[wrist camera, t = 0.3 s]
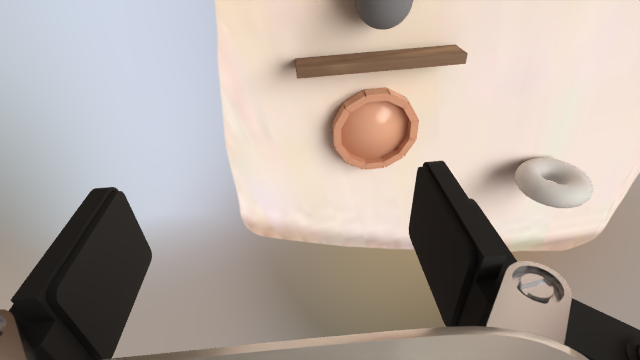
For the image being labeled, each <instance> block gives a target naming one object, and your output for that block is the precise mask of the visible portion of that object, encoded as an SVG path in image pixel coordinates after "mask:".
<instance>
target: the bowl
mask: <svg viewBox="0 0 640 360" xmlns="http://www.w3.org/2000/svg"><path fill="white" fill-rule="evenodd" d="M418 123H419V120H418V118H417V116H416V114H415V112H414V110H413V108H412V107H411V105H410V103H409V101H408V100H407V98H405V96H402V95H400V94H398V93H396V92H394V91H392V90H390V89H388V88H387V89H386V88H378V89H367V90H364V91H363V90H362V91H360V92H359V93H357V94H356V95H354V96H353V97H351V98H349V99H348V100H346V101H345V102H344V104H343V103H342V105H341V107H340V109H339V111H338V112H337V114H336V116H335V118H334V119H333V122H332V128H333V143H334V147H335V149H336V150H337V152H338V153H339V154H340V156H341V157H342V158H343V159H344V161H345V162H346V163H348V164H351V165H354V166H356V167H359V168H361V169H364V168H365V169H375V168H384V166H385V167H387V166H389V165H390V164H392V163H394V162H396V161H398V160H399V159H401V158H403V156H405V155H406V153H407V152H408V151H409V149H410V148H411V147H412V145H413V144H414V143H415V141H416V140H415V139H417V131H418Z"/></svg>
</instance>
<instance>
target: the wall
mask: <svg viewBox="0 0 640 360" xmlns="http://www.w3.org/2000/svg"><path fill="white" fill-rule="evenodd" d="M466 59H467V53H466V52H465V51H464V50H462V49H461V48H459V47H458V46H457V45H448V46H436V47H424V48H413V49H401V50H390V51H378V52H366V53H355V54H343V55H332V56H320V57H308V58H297V59H295V60H296V72H297V78H308V77H320V76H331V75H342V74H354V73H365V72H377V71H388V70H399V69H411V68H422V67H434V66H445V65H456V64H466Z"/></svg>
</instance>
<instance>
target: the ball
mask: <svg viewBox="0 0 640 360" xmlns="http://www.w3.org/2000/svg"><path fill="white" fill-rule="evenodd" d="M412 3H413V0H356V7H357V11H358V13H359V15H360V17H361V19H362V20H363V21H364V22H365V23H366V24H367V25H369V26H370V27H373V28H376V29H389V28H392V27H394V26H396V25H398V24H399V23H401V22H402V21H403V20H404V19H405V18H406V16H407V15H408V13H409V11H410V9H411V7H412Z"/></svg>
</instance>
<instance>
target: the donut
mask: <svg viewBox="0 0 640 360" xmlns="http://www.w3.org/2000/svg"><path fill="white" fill-rule="evenodd" d="M548 180H550V181H553V182H556V183H553V182H550V181H548ZM515 181H516V184H517V186H518V187H519V189H520V190H521V191H522V192H523V193H524V194H525V195H526V196H528V197H529V198H531V199H533V200H534V201H536V202H539V203H541V204H544V205H547V206H551V207H556V208H572V207H577V206H580V205H582V204H584V203H585V202H587V201H588V200H589V199H590V197H591V194H592V192H593V186H592V183H591V180H590V179H589V177H588V176H587V175H586V174H585V173H584V172H583V171H581V170H580V169H578V168H577V167H575V166H573V165H571V164H569V163H566V162H563V161H560V160H556V159H550V158H535V159H530V160H527V161H525V162H523V163H522V164H520V166H519V167H518V169H517V170H516V172H515ZM557 183H558V184H557Z"/></svg>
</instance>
